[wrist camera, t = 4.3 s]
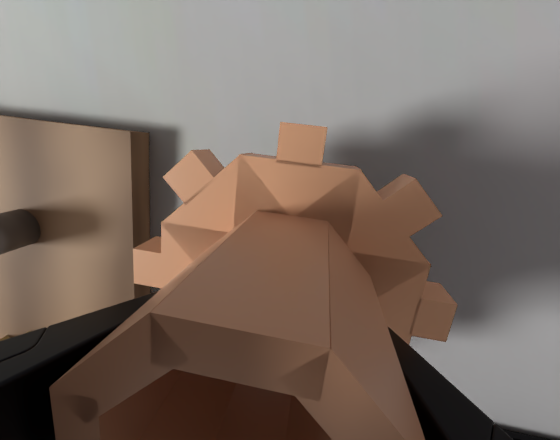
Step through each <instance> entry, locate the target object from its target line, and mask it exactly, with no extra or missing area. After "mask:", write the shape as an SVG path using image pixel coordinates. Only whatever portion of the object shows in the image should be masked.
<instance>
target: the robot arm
mask: <svg viewBox="0 0 560 440" xmlns="http://www.w3.org/2000/svg"><path fill="white" fill-rule="evenodd" d="M157 292H159V291H157ZM157 292H154V293H150V294H147V295H144V296H141V297H138V298H135V299H132V300H128V301H125V302H122V303H119V304H116V305H113V306H110V307H107V308H103V309H100V310H97V311H94V312H91V313H88V314H85V315H81V316H78V317H75V318H72V319H69V320H66V321H63V322H60V323H56V324H53V325H50V326H48V327H47V328H46V327H44V328H40V329H37V330H34V331H31V332H28V333H25V334H21V335H18V336H15V337H12V338H8V339H5V340H2V341H0V440H56V439H55V431H54V423H53V415H52V407H51V399H50V391H49V387H50V386H51V385H52V384H53V383H55V382H56V381H57V380H58V379H59V378H60V377H61V376H63V375H64V374H65V373H66V372H67V371H68V370H69V369H71V368H72V367H73V366H74V365H75V364H76V363H77V362H79V361H80V360H81V359H82V358H83V357H84V356H85V355H87V354H88V353H89V352H90V351H91V350H92V349H93V348H95V347H96V346H97V345H98V344H99V343H100V342H101V341H103V340H104V339H105V338H106V337H107V336H108V335H109V334H111V333H112V332H113V331H114V330H115V329H116V328H117V327H119V326H120V325H121V324H122V323H123V322H124V321H125V320H127V319H128V318H129V317H130V316H131V315H132V314H133V313H135V312H136V311H137V310H138V309H139V308H140V307H141V306H143V305H144V304H145V303H146V302H147V301H148V300H149V299H151V298H152V297H153V296H154V295H155V294H156V293H157ZM388 330H389V333H390V336H391V339H392V342H393V345H394V348H395V351H396V354H397V357H398V360H399V363H400V366H401V369H402V372H403V375H404V378H405V381H406V384H407V387H408V390H409V393H410V396H411V399H412V402H413V405H414V408H415V411H416V414H417V417H418V420H419V422H420V425H421V428H422V431H423V434H424V437H425V440H548V439H543V438H539V437H534V436H530V435H525V434H521V433H516V432H511V431H507V430H502V429H501V428H500V427H499V426H498V425H496V424H494V425H493V421H492V420H491V419H490V418H489V417H488V416H487V415H485V414H484V413H483V412H482V411H481V410H480V409H479V408H478V407H477V406H476V405H474V404H473V403H472V402H471V401H470V400H469V399H468V398H467V397H466V396H465V395H463V394H462V393H461V392H460V391H459V390H458V389H457V388H456V387H455V386H453V385H452V384H451V383H450V382H449V381H448V380H447V379H446V378H445V377H444V376H442V375H441V374H440V373H439V372H438V371H437V370H436V369H435V368H434V367H433V366H431V365H430V364H429V363H428V362H427V361H426V360H425V359H424V358H423V357H422V356H420V355H419V354H418V353H417V352H416V351H415V350H414V349H413V348H412V347H410V346H409V345H408V344H407V343H406V342H405V341H404V340H403V339H402V338H401V337H399V336H398V335H397V334H396V333H395V332H394V331H393V330H392V329H391V328H389V327H388Z"/></svg>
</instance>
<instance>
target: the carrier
mask: <svg viewBox="0 0 560 440" xmlns="http://www.w3.org/2000/svg"><path fill="white" fill-rule="evenodd" d="M148 240H150V198H149V133H145V132H137V131H129V130H121V129H112V128H104V127H96V126H87V125H79V124H71V123H63V122H54V121H46V120H38V119H29V118H21V117H13V116H5V115H0V341H2V340H5V339H8V338H12V337H15V336H18V335H21V334H25V333H28V332H31V331H34V330H37V329H40V328H44V327H46V328H47V327H48V326H50V325H53V324H56V323H60V322H63V321H66V320H69V319H72V318H75V317H78V316H81V315H85V314H88V313H91V312H94V311H97V310H100V309H103V308H107V307H110V306H113V305H116V304H119V303H122V302H125V301H128V300H132V299H135V298H138V297H141V296H144V295H147V294H150V286H146V285H140V284H135V283H134V271H133V248H135V247H137V246H139V245H141V244H143V243H144V242H146V241H148Z"/></svg>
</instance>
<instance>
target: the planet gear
mask: <svg viewBox="0 0 560 440" xmlns="http://www.w3.org/2000/svg"><path fill="white" fill-rule="evenodd" d="M326 134H327V127H321V126H312V125H303V124H293V123H284V122H280V130H279V139H278V149H277V156H268V155H260V154H253V153H246V154H240V155H239V156H238V157H237V158H236V159H235V160H233V161H232V162H231V163H230V164H229V165H228V166H226V167H225V168H224V167H223V166H222V164H221V163H220V162H219V161H218V159H217V158H216V157H215V156H214V154H213V153H212V152H211V151H210V149H208V150H191V151H190V152H189V153H188V154H187V155H186V156H185V157H184V158H183V159H182V160H180V161H179V162H178V163H177V164H176V165H175V166H174V167H173V168H172V169H171V170H170V171H169V172H167V173H166V174H165V175H164V176H163V178H164V179H165V180H166V182H167V183H168V184H169V185H170V187H171V188H172V189H173V190H174V191H175V193H176V194H177V195H178V196H179V197H180V199H181V200H182V201H183V202H184V203H183V204H182V205H181V206H180V207H179V208H178V209H176V210H175V211H174V212H173V213H172V214H171V215H169V216H168V217H167V218H166V219H165V220H164V221H162V222H161V237H158V236H156V237H154V238H152V239H150V240H148V241H146V242H144V243H143V244H141V245H139V246H137V247H135V248H133V271H134V283H135V284H140V285H146V286H151V287H156V288H161V290H160V291H159V292H157V293H156V294H155V295H154V296H153V297H152V298H151V299H149V300H148V301H147V302H146V303H145V304H144V305H143V306H141V307H140V308H139V309H138V310H137V311H136V312H135V313H133V314H132V315H131V316H130V317H129V318H128V319H127V320H125V321H124V322H123V323H122V324H121V325H120V326H119V327H117V328H116V329H115V330H114V331H113V332H112V333H111V334H109V335H108V336H107V337H106V338H105V339H104V340H103V341H101V342H100V343H99V344H98V345H97V346H96V347H95V348H93V349H92V350H91V351H90V352H89V353H88V354H87V355H85V356H84V357H83V358H82V359H81V360H80V361H79V362H77V363H76V364H75V365H74V366H73V367H72V368H71V369H69V370H68V371H67V372H66V373H65V374H64V375H63V376H61V377H60V378H59V379H58V380H57V381H56V382H55V383H53V384H52V385H51V386H50V387H49V391H50V399H51V407H52V415H53V423H54V431H55V439H56V440H425V437H424V434H423V431H422V428H421V425H420V422H419V420H418V417H417V414H416V411H415V408H414V405H413V402H412V399H411V396H410V393H409V390H408V387H407V384H406V381H405V378H404V375H403V372H402V369H401V366H400V363H399V360H398V357H397V354H396V351H395V348H394V345H393V342H392V339H391V336H390V333H389V330H388V327H389V328H391V329H392V330H393V331H394V332H395V333H396V334H397V335H398V336H399V337H401V338H402V339H403V340H404V341H405V342H406V343H407V344H408V345H409V343H410V340H411V336H417V337H422V338H427V339H432V340H438V341H443V342H446V341H447V337H448V334H449V331H450V328H451V325H452V321H453V318H454V315H455V312H456V309H457V303H456V302H455V301H454V300H453V299H452V297H451V296H450V295H449V294H448V292H447V291H446V290H445V289H444V288H443V286H442V285H441V284H440V283H435V282H429V281H427V277H428V274H429V270H430V267H431V264H430V263H429V262H428V260H427V259H426V258H425V257H424V256H423V254H422V253H421V252H420V250H419V249H418V248H417V246H416V245H415V243H414V242H413V241H412V239H411V238H410V236H411V235H413V234H415V233H416V232H418V231H419V230H421V229H423V228H424V227H426V226H427V225H429V224H431V223H432V222H434V221H435V220H437V219H439V218H440V217H442V214H441V213H440V212H439V210H438V209H437V207H436V206H435V204H434V203H433V202H432V200H431V199H430V197H429V196H428V195H427V193H426V192H425V190H424V189H423V188H422V186H421V185H420V183H419V182H418V181H417V179H416V178H413V177H411V176H408V175H406V174H402V175H400V176H399V177H397V178H396V179H394V180H393V181H392V182H390V183H389V184H387V185H386V186H384V187H383V188H381V189H380V190H379V191H377V192H376V190H375V189H374V187H373V186H372V185H371V183H370V182H369V181H368V179H367V178H366V177H365V175H364V174H363V172H362V170H361V169H360V168H358V167H357V166H349V165H341V164H333V163H325V162H322V161H323V154H324V148H325V141H326Z"/></svg>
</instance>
